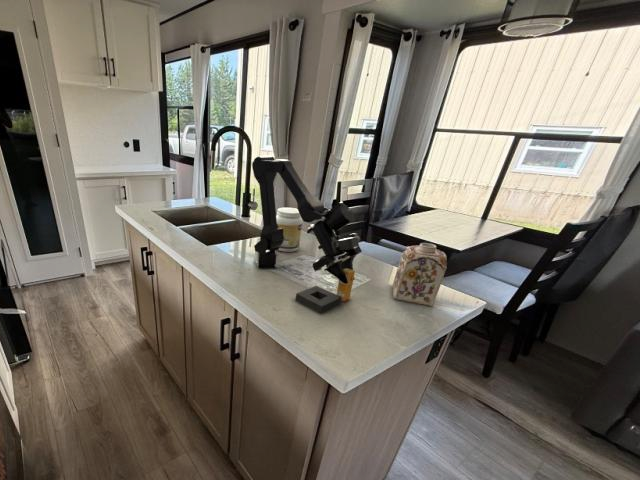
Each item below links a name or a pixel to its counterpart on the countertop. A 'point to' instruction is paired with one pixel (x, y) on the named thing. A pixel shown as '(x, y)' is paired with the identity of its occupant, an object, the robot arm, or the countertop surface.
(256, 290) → the countertop surface
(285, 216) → the supplement tub
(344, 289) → the supplement box
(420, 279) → the decorative jar
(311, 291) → the socket pad
